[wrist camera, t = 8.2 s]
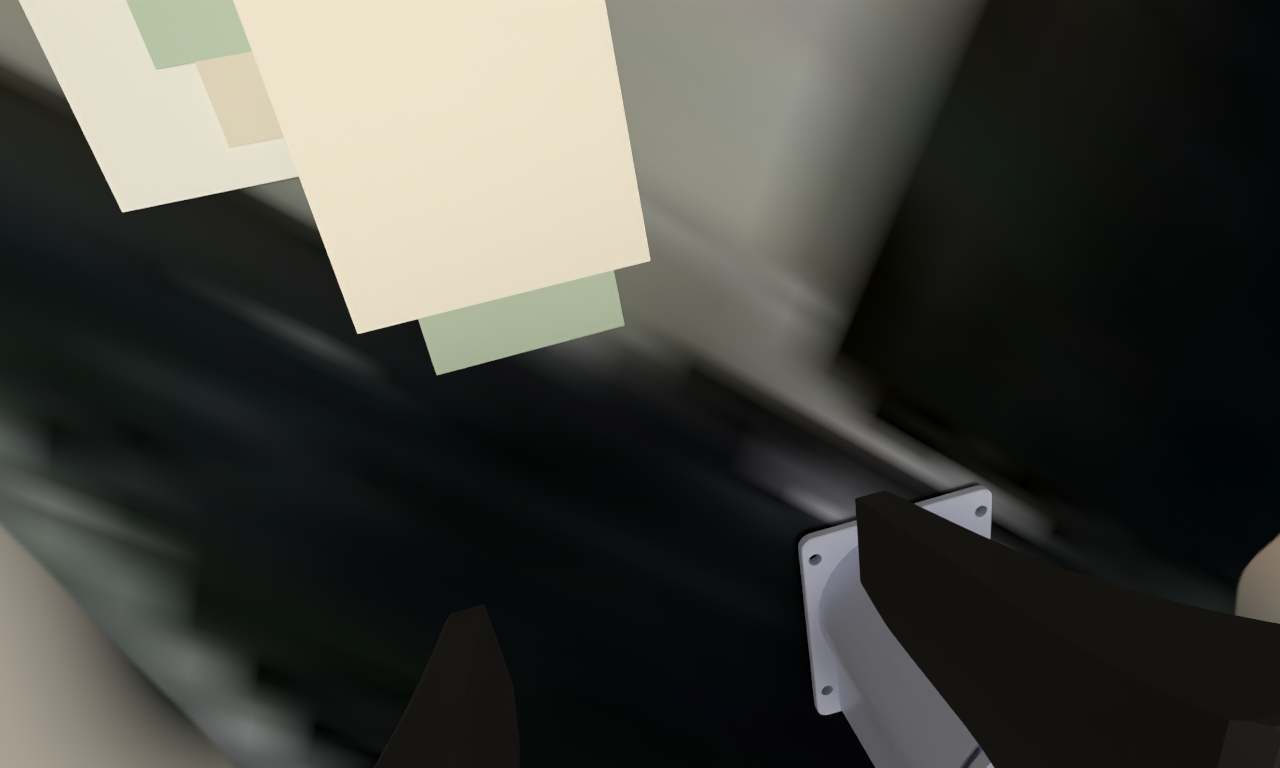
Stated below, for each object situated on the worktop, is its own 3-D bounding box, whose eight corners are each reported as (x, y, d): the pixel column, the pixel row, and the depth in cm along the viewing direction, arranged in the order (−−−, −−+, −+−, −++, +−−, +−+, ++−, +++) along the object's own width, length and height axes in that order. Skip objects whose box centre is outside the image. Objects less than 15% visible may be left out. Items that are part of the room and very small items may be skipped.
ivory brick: (586, 217, 15) (650, 261, 11) (381, 265, 14) (357, 333, 10) (538, -12, 13) (591, -76, 9) (300, 28, 13) (225, -20, 8)
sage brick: (583, 280, 21) (624, 325, 16) (436, 316, 20) (436, 375, 16) (508, -64, 17) (534, -126, 13) (324, -35, 16) (282, -93, 12)
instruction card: (434, 148, 19) (433, 149, 18) (125, 211, 18) (120, 212, 17) (358, -115, 16) (356, -119, 16) (-5, -58, 15) (-14, -61, 15)
